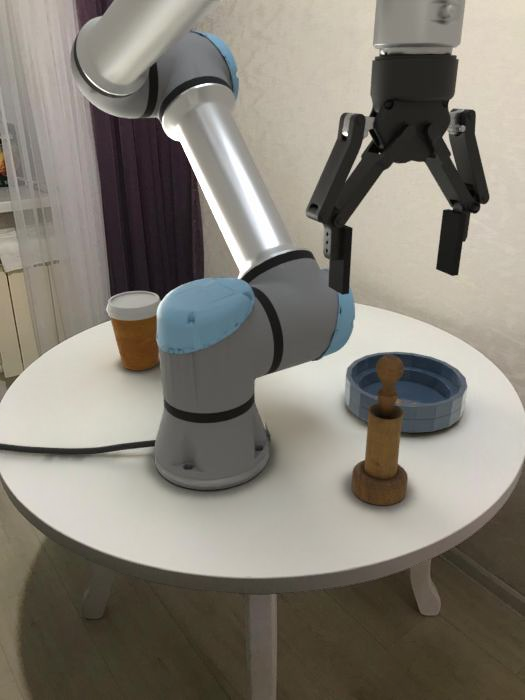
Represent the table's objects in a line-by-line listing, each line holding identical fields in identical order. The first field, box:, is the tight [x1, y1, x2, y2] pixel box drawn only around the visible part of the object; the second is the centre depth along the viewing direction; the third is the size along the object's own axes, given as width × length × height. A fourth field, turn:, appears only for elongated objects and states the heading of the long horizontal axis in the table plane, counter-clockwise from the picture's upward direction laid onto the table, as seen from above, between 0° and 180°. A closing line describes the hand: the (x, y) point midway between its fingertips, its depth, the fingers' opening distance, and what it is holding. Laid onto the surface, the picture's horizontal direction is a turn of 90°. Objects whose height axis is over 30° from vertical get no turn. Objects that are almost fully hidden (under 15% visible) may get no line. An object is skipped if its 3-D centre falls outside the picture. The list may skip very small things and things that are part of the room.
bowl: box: [344, 351, 468, 434], centre depth 90 cm, size 18×18×5 cm
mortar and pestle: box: [351, 355, 409, 506], centre depth 69 cm, size 7×6×18 cm
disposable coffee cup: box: [105, 290, 162, 371], centre depth 102 cm, size 10×10×12 cm
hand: (394, 281), depth 61 cm, fingers open, 13 cm apart
